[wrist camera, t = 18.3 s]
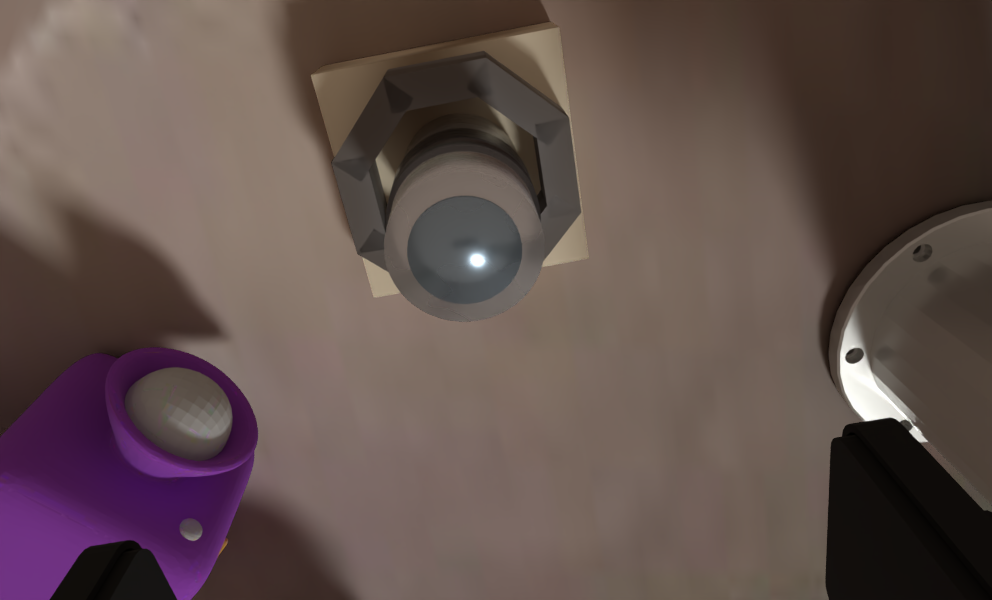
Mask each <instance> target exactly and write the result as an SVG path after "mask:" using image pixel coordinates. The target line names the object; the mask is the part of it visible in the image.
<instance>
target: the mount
mask: <svg viewBox="0 0 992 600" xmlns="http://www.w3.org/2000/svg"><path fill="white" fill-rule="evenodd" d="M311 78H312V82H313V85H314V89H315V92H316V96H317V99H318V103H319V106H320V110H321V113H322V117H323V120H324V124H325V127H326V131H327V134H328V138H329V141H330V145H331V148H332V152H333V156H334V159H333V161H332V162H331V163H332V167H333V170H334V174H335V177H336V181H337V184H338V188H339V191H340V195H341V198H342V202H343V205H344V209H345V212H346V216H347V219H348V223H349V226H350V230H351V233H352V237H353V240H354V244H355V247H356V251H357V254H358V255H360V256H362V258H363V261H364V265H365V268H366V272H367V275H368V279H369V282H370V286H371V289H372V293H373V296H374V298H376V297H381V296H387V295H392V294H398V293H401V292H400V291H399V290H398V288H397V287H396V285H395V284H394V282H393V280H392V278H391V276H390V274H389V272H388V269H387V266H386V261H385V256H384V239H385V233H386V208H387V204H388V200H389V196H390V192H391V188H392V185H393V181H394V177H395V175H396V172H397V169H398V167H399V165H400V164H401V162H402V160H403V159H404V156H405V153H406V150H407V147H408V145H409V143H410V142H411V140H412V138H413V137H414V136H415V134H416V133H417V132H418V131H419V130H420V129H421V128H422V127H423V126H425V125H426V124H427V123H429V122H431V121H432V120H434V119H436V118H439V117H441V116H444V115H448V114H455V113H468V114H474V115H478V116H481V117H483V118H486V119H488V120H490V121H492V122H493V123H495V124H496V125H497V126H499V127H500V128H501V129H502V130H503V131H504V132H505V133H506V134H507V135H508V137H509V138H510V139H511V141H512V143H513V145H514V146H515V149H516V151H517V154H518V155H519V157H520V158H521V159H522V161H523V163H524V164H525V166H526V168H527V170H528V173H529V176H530V178H531V181H532V184H533V187H534V190H535V192H536V195H537V198H538V202H539V206H540V214H541V225H542V229H543V233H544V241H545V252H544V259H543V265H542V267H545V266H550V265H556V264H561V263H567V262H572V261H578V260H583V259H588V258H589V257H588V249H587V241H586V233H585V225H584V218H583V210H582V202H581V194H580V186H579V178H578V170H577V163H576V155H575V147H574V139H573V131H572V123H571V115H570V108H569V100H568V92H567V84H566V76H565V68H564V61H563V53H562V45H561V37H560V29H559V27H558V26H557V25H555V24H554V23H552V22H546V23H541V24H536V25H531V26H526V27H520V28H515V29H510V30H505V31H500V32H495V33H489V34H484V35H479V36H474V37H469V38H464V39H459V40H453V41H448V42H443V43H438V44H433V45H428V46H422V47H417V48H412V49H407V50H402V51H397V52H391V53H386V54H381V55H376V56H371V57H366V58H361V59H355V60H350V61H345V62H340V63H335V64H330V65H324V66H322V67H321V68H319V69H318V70H317V71H315V72H314V73H313V74H312V75H311Z"/></svg>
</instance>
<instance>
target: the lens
mask: <svg viewBox="0 0 992 600" xmlns="http://www.w3.org/2000/svg"><path fill="white" fill-rule="evenodd" d="M544 252H545V241H544V233H543V229H542V225H541V214H540V206H539V202H538V198H537V195H536V192H535V190H534V187H533V184H532V181H531V178H530V176H529V173H528V170H527V168H526V166H525V164H524V163H523V161H522V159H521V158H520V157H519V155H518V154H517V151H516V149H515V146H514V145H513V143H512V141H511V139H510V138H509V137H508V135H507V134H506V133H505V132H504V131H503V130H502V129H501V128H500V127H499V126H497V125H496V124H495V123H493V122H492V121H490V120H488V119H486V118H483V117H481V116H478V115H474V114H468V113H455V114H448V115H444V116H441V117H439V118H436V119H434V120H432V121H431V122H429V123H427V124H426V125H425V126H423V127H422V128H421V129H420V130H419V131H418V132H417V133H416V134H415V136H414V137H413V138H412V140H411V142H410V143H409V145H408V147H407V150H406V153H405V156H404V159H403V160H402V162H401V164H400V165H399V167H398V169H397V172H396V175H395V177H394V181H393V185H392V188H391V192H390V196H389V200H388V204H387V208H386V233H385V239H384V256H385V261H386V266H387V269H388V272H389V274H390V276H391V278H392V280H393V282H394V284H395V285H396V287H397V288H398V290H399V291H400V292H401V294H402V295H403V296H404V297H405V298H406V299H407V300H408V301H409V302H411V303H412V304H413V305H414V306H416V307H417V308H419V309H420V310H422V311H424V312H426V313H428V314H430V315H432V316H435V317H438V318H441V319H445V320H450V321H459V322H470V321H478V320H483V319H487V318H491V317H493V316H496V315H499V314H501V313H503V312H504V311H506V310H508V309H510V308H511V307H513V306H514V305H516V304H517V303H518V302H519V301H520V300H521V299H522V298H523V297H524V296H525V295H526V294H527V293H528V292H529V291H530V289H531V288H532V286H533V285H534V283H535V282H536V280H537V278H538V276H539V273H540V271H541V268H542V265H543V259H544Z"/></svg>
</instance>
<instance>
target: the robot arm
mask: <svg viewBox="0 0 992 600" xmlns="http://www.w3.org/2000/svg"><path fill="white" fill-rule="evenodd" d="M828 355H829V363H830V370H831V375H832V378H833V381H834V383H835V386H836V388H837V391H838V392H839V394H840V395H841V397H842V398H843V399H844V401H845V402H846V403H847V405H848V406H849V407H850V408H851V409H852V410H853V411H854V412H855V413H856V414H857V415H858V416H859V417H860V418H861V420H862V421H863V422H859V423H853V424H848V425H846V426H845V428H844V429H843V434H842V437H837V438H834V439H833V440H832V442H831V454H830V479H829V505H828V530H827V555H826V589H827V594H828V597H829V600H992V512H990V511H988V510H987V511H984V510H983V509H982V508H981V507H980V506H979V505H978V504H977V503H976V502H975V501H974V500H973V499H972V498H971V497H970V496H969V495H968V494H967V492H966V491H965V490H964V489H963V488H962V487H961V486H960V485H959V484H958V483H957V482H956V481H955V480H954V479H953V478H952V477H951V476H950V474H949V473H948V472H947V471H946V470H945V469H944V468H943V467H942V466H941V465H940V464H939V463H938V462H937V461H936V460H935V459H934V458H933V456H932V455H931V454H930V453H929V452H928V451H927V450H926V449H925V448H924V447H923V446H922V445H921V444H920V443H919V442H929V443H930V444H931V445H932V446H933V447H934V448H935V449H936V450H937V451H938V452H939V453H940V454H941V455H942V456H943V457H944V458H945V459H946V460H947V461H948V462H949V463H950V464H951V465H952V466H953V467H954V468H955V469H956V470H957V471H958V472H959V473H960V474H961V475H962V476H963V477H964V478H965V479H966V480H967V481H968V482H969V483H970V484H971V485H972V486H973V487H974V488H975V489H976V490H977V491H978V492H979V493H980V494H981V495H982V496H983V497H984V498H985V499H986V501H987V502H988V503H989V504H990V505H991V506H992V201H985V202H980V203H974V204H969V205H963V206H960V207H957V208H954V209H952V210H949V211H946V212H943V213H940V214H937V215H935V216H933V217H931V218H929V219H927V220H925V221H924V222H922V223H920V224H918V225H916V226H914V227H912V228H910V229H909V230H907V231H906V232H905V233H903V234H902V235H901V236H899V237H898V238H896V239H895V240H894V241H892V242H891V243H890V244H888V245H887V246H886V247H885V248H884V249H883V250H882V251H881V252H879V253H878V254H877V255H876V256H875V257H874V258H873V259H872V260H871V261H870V262H869V263H868V264H867V265H866V266H865V268H864V269H863V270H862V272H861V273H860V274H859V276H858V277H857V278H856V280H855V281H854V282H853V284H852V285H851V286H850V288H849V289H848V291H847V293H846V295H845V297H844V299H843V301H842V303H841V305H840V307H839V309H838V311H837V314H836V317H835V320H834V323H833V327H832V330H831V333H830V343H829V354H828ZM50 600H177V598H176V596H175V594H174V592H173V590H172V588H171V587H170V585H169V583H168V581H167V579H166V577H165V575H164V573H163V571H162V569H161V568H160V566H159V564H158V562H157V560H156V558H155V556H154V555H153V553H152V552H151V551H150V550H148V549H142V547H141V546H140V545H139V543H137V542H135V541H134V540H126V541H120V542H113V543H107V544H101V545H95V546H90V547H88V548H86V549H84V551H83V552H82V553H81V554H80V555H79V556H78V558H77V559H76V561H75V562H74V564H73V565H72V567H71V568H70V570H69V571H68V573H67V574H66V576H65V577H64V579H63V580H62V582H61V583H60V585H59V586H58V588H57V589H56V591H55V592H54V594H53V595H52V597H51V598H50Z"/></svg>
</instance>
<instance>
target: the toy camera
mask: <svg viewBox="0 0 992 600" xmlns="http://www.w3.org/2000/svg"><path fill="white" fill-rule="evenodd" d="M257 440H258V428H257V422H256V418H255V415H254V413H253V410H252V408H251V406H250V404H249V402H248V401H247V399H246V397H245V396H244V394H243V393H242V392H241V391H240V389H239V388H238V387H237V386H236V384H235V383H234V382H233V381H232V380H231V379H230V378H229V377H227V376H226V375H225V374H224V373H223V372H222V371H220V370H219V369H218V368H216V367H215V366H213V365H212V364H210V363H208V362H207V361H205V360H203V359H201V358H199V357H196V356H194V355H191V354H189V353H186V352H182V351H179V350H174V349H168V348H160V347H150V348H141V349H137V350H133V351H131V352H128V353H126V354H124V355H122V356H121V357H119V358H116V357H113V356H110V355H108V354H103V353H95V354H91V355H88V356H86V357H84V358H82V359H80V360H79V361H77V362H75V363H74V364H73V365H71V366H70V367H69V368H68V369H67V370H65V371H64V372H63V373H62V374H61V375H60V376H59V377H58V378H57V379H56V380H55V381H54V382H53V383H52V384H51V385H50V386H49V387H48V388H47V389H46V390H45V391H44V392H43V393H42V394H41V395H40V396H39V397H38V398H37V399H36V400H35V401H34V402H33V403H32V404H31V405H30V406H29V407H28V408H27V410H26V411H25V412H24V413H23V414H22V415H21V416H20V417H19V418H18V419H17V420H16V421H15V422H14V423H13V424H12V425H11V426H10V427H9V428H8V429H7V430H6V431H5V432H4V433H3V435H2V436H1V437H0V600H50V598H51V597H52V595H53V594H54V592H55V591H56V589H57V588H58V586H59V585H60V583H61V582H62V580H63V579H64V577H65V576H66V574H67V573H68V571H69V570H70V568H71V567H72V565H73V564H74V562H75V561H76V559H77V558H78V556H79V555H80V554H81V553H82V552H83V551H84V549H86V548H88V547H90V546H95V545H101V544H107V543H113V542H120V541H126V540H134V541H135V542H137V543H139V545H140V546H141V547H142V549H148V550H150V551H151V552H152V553H153V555H154V556H155V558H156V560H157V562H158V564H159V566H160V568H161V569H162V571H163V573H164V575H165V577H166V579H167V581H168V583H169V585H170V587H171V588H172V590H173V592H174V594H175V596H176V598H177V600H191V599H192V598H193V597H194V596H195V594H196V593H197V592H198V591H199V590H200V588H201V587H202V585H203V584H204V582H205V581H206V579H207V578H208V576H209V574H210V572H211V570H212V568H213V566H214V564H215V562H216V559H217V557H218V556H219V555H220V553H221V552H222V550H223V549H224V548H225V546H226V545H227V543H228V539H227V538H226V536H227V533H228V531H229V528H230V526H231V523H232V521H233V518H234V516H235V513H236V511H237V508H238V506H239V503H240V501H241V498H242V495H243V493H244V490H245V488H246V485H247V483H248V480H249V477H250V474H251V471H252V467H253V462H254V450H255V448H256V445H257Z"/></svg>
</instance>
